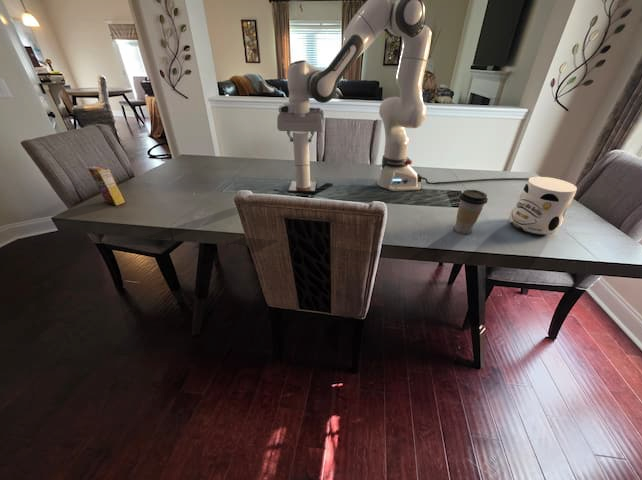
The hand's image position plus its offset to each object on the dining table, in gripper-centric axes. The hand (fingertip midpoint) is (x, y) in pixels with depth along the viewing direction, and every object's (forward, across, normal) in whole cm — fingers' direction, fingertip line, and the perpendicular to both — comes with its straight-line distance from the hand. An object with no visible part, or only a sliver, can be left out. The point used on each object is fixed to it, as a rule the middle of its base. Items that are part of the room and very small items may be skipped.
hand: (300, 141), depth 129 cm
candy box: (+22, +82, +24) cm, 89 cm away
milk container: (+22, -96, +34) cm, 104 cm away
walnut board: (+22, 0, 0) cm, 22 cm away
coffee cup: (+22, -68, +38) cm, 81 cm away
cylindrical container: (+21, 0, 0) cm, 21 cm away
